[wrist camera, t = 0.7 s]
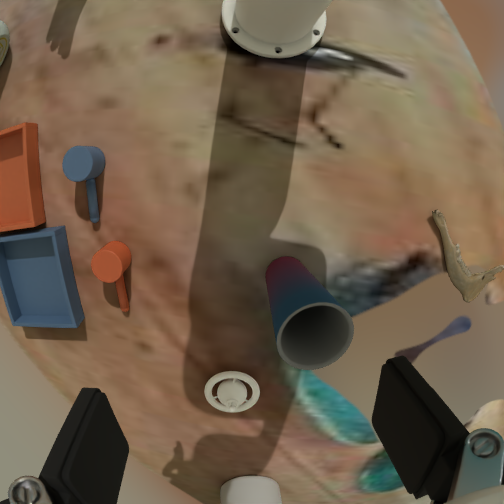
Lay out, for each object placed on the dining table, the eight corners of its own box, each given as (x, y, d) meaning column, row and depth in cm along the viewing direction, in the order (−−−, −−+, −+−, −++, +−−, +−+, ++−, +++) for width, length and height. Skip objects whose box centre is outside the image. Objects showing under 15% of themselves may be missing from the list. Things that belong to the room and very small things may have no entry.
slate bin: (0, 234, 35) (-11, 239, 32) (64, 225, 36) (54, 230, 33) (22, 317, 39) (12, 325, 36) (84, 317, 40) (77, 328, 37)
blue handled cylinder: (75, 149, 33) (61, 149, 29) (104, 144, 34) (91, 143, 30) (83, 223, 36) (70, 230, 32) (111, 220, 36) (99, 227, 32)
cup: (250, 292, 40) (264, 362, 26) (269, 242, 39) (294, 293, 24) (299, 305, 42) (333, 375, 27) (319, 258, 40) (366, 312, 26)
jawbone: (473, 306, 46) (479, 311, 44) (400, 260, 42) (406, 266, 40) (499, 263, 43) (506, 267, 41) (431, 205, 39) (439, 209, 37)
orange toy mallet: (100, 242, 37) (88, 251, 33) (129, 239, 37) (119, 248, 33) (113, 309, 40) (104, 323, 36) (141, 308, 40) (133, 323, 36)
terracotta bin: (-22, 143, 31) (-34, 144, 28) (37, 123, 32) (25, 122, 29) (-13, 230, 35) (-25, 236, 32) (46, 221, 35) (34, 226, 33)
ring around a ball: (254, 405, 46) (263, 367, 44) (256, 431, 41) (266, 392, 38) (203, 400, 45) (207, 360, 43) (200, 426, 40) (204, 386, 38)
